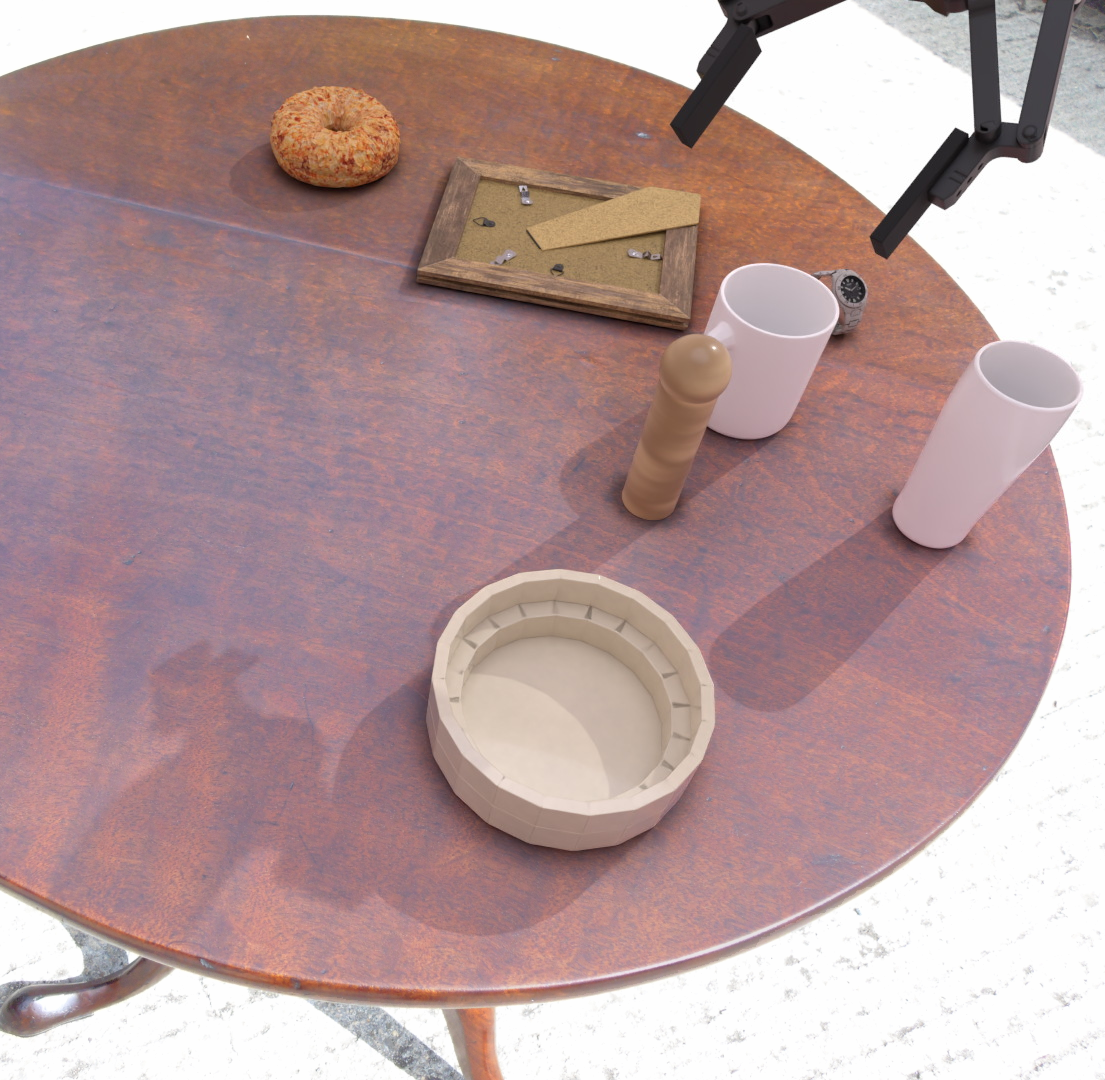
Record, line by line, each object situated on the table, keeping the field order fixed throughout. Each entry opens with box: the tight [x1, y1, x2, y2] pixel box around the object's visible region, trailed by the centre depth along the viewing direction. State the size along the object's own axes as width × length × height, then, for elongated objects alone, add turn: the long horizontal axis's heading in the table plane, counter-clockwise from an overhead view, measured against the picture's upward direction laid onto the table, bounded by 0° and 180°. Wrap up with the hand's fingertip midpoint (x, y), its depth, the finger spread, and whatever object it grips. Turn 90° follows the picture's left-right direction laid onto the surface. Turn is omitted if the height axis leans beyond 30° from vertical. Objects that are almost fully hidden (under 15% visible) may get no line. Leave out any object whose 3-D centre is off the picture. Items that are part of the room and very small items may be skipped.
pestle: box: [621, 333, 732, 521], centre depth 74 cm, size 5×5×15 cm
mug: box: [703, 262, 840, 440], centre depth 82 cm, size 9×12×11 cm
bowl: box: [425, 568, 716, 852], centre depth 65 cm, size 17×17×6 cm
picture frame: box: [416, 155, 702, 332], centre depth 98 cm, size 19×2×24 cm
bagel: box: [269, 85, 402, 189], centre depth 104 cm, size 13×14×5 cm
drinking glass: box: [891, 339, 1084, 549], centre depth 73 cm, size 7×7×15 cm
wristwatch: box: [810, 268, 869, 336], centre depth 92 cm, size 4×6×5 cm, turn 22°
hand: (773, 190), depth 60 cm, fingers open, 13 cm apart
